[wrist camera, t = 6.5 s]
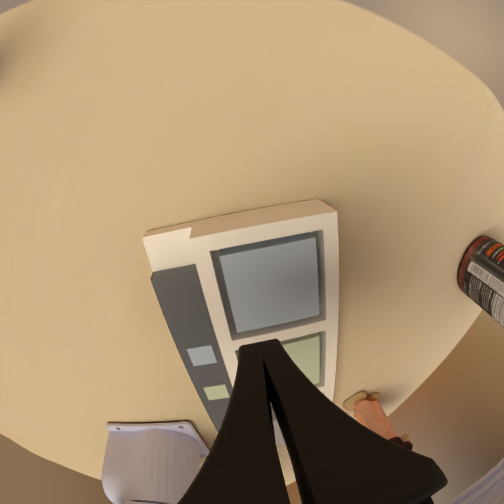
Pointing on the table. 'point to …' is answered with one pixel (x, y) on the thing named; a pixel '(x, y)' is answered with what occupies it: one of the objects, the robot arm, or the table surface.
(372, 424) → the grandmother figurine
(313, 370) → the sage key
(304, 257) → the slate key
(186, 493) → the robot arm
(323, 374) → the keypad
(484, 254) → the supplement bottle
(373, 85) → the table surface
